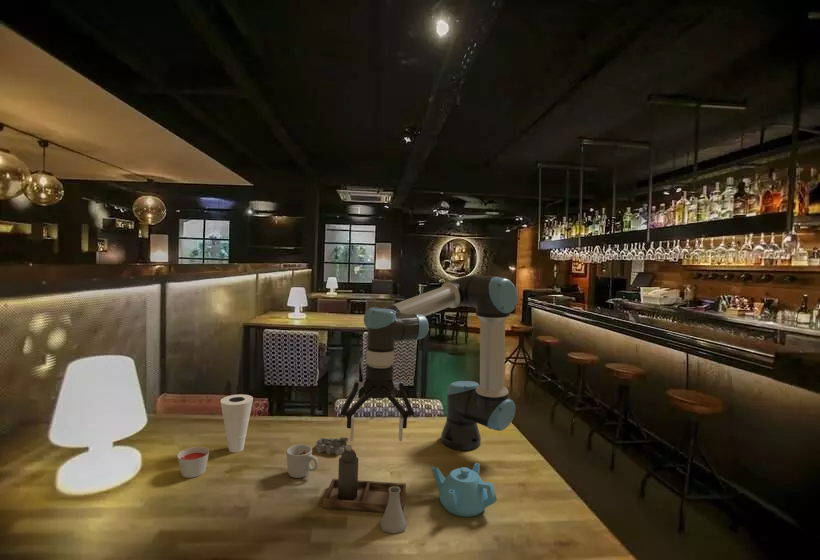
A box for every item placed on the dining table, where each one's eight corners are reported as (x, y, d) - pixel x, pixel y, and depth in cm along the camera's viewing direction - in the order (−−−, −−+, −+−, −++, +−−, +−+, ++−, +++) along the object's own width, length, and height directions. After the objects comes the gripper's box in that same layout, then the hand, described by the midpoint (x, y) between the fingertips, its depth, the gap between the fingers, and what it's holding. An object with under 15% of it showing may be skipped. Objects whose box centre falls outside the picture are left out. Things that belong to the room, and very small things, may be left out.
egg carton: (349, 448, 160) (349, 437, 160) (340, 457, 153) (341, 446, 152) (322, 443, 163) (323, 432, 163) (313, 452, 156) (313, 441, 155)
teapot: (445, 524, 118) (447, 485, 117) (429, 493, 132) (431, 458, 131) (498, 518, 121) (500, 480, 120) (477, 488, 136) (479, 455, 135)
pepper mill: (358, 491, 130) (360, 442, 129) (355, 502, 125) (357, 451, 124) (340, 490, 131) (341, 441, 130) (335, 500, 125) (337, 449, 124)
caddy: (405, 491, 133) (405, 483, 133) (402, 514, 121) (403, 505, 121) (332, 486, 134) (332, 478, 134) (322, 508, 122) (323, 500, 122)
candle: (215, 469, 141) (215, 450, 140) (190, 483, 132) (191, 462, 132) (195, 463, 144) (195, 444, 144) (170, 475, 136) (170, 455, 136)
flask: (379, 517, 119) (380, 482, 119) (405, 517, 120) (407, 481, 119) (379, 534, 112) (381, 497, 111) (407, 534, 113) (409, 497, 112)
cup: (323, 472, 142) (324, 448, 141) (310, 484, 134) (311, 459, 134) (295, 466, 145) (295, 442, 145) (280, 477, 138) (281, 452, 137)
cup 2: (212, 452, 152) (213, 401, 151) (235, 440, 162) (236, 392, 161) (236, 459, 148) (237, 406, 147) (258, 446, 158) (259, 397, 157)
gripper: (422, 362, 127) (418, 433, 128) (334, 360, 124) (331, 433, 125) (426, 369, 120) (422, 444, 121) (333, 367, 117) (330, 445, 118)
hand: (376, 439), depth 123 cm, fingers open, 13 cm apart
